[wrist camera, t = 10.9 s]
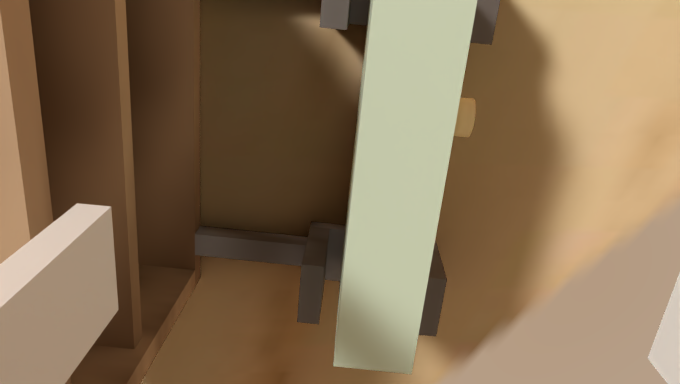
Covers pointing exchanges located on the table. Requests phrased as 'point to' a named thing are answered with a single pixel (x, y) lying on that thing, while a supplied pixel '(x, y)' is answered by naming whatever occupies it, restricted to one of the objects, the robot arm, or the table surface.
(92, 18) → the wooden shelf unit
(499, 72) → the table surface
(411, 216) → the door
